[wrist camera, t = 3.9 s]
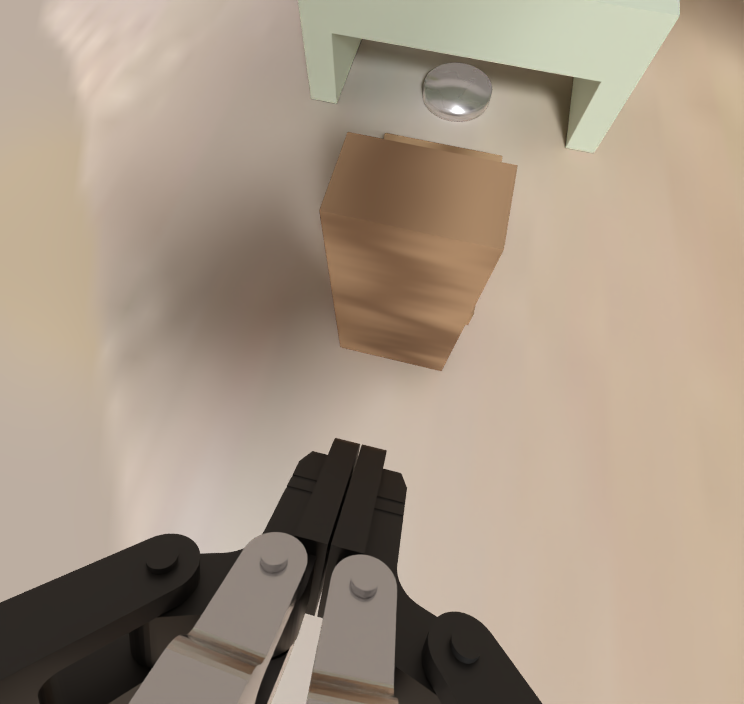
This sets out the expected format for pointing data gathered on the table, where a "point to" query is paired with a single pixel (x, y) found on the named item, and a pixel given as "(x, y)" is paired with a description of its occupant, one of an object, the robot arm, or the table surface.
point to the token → (457, 92)
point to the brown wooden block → (412, 242)
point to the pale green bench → (502, 44)
